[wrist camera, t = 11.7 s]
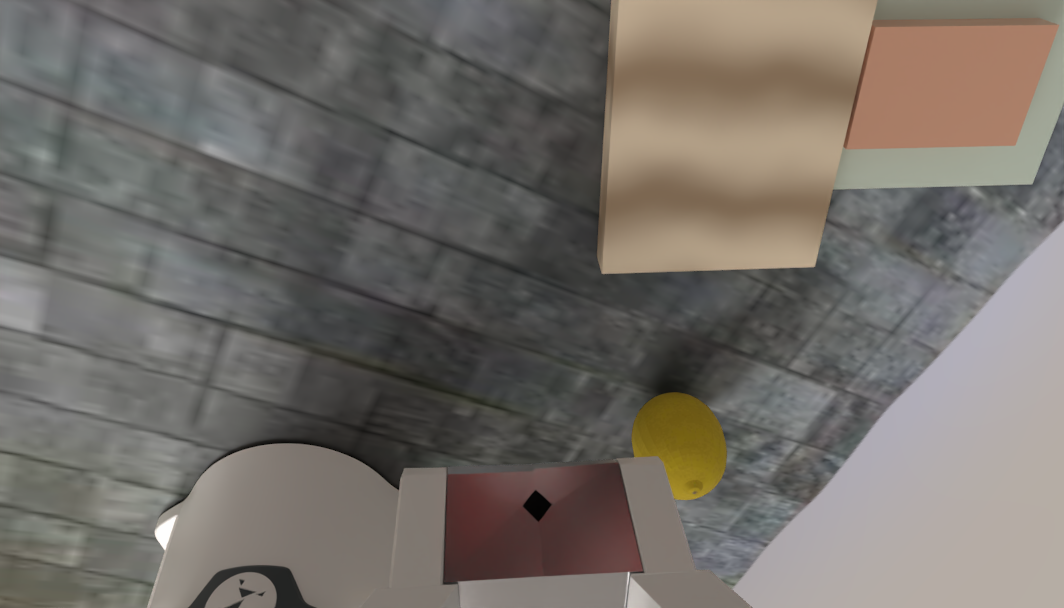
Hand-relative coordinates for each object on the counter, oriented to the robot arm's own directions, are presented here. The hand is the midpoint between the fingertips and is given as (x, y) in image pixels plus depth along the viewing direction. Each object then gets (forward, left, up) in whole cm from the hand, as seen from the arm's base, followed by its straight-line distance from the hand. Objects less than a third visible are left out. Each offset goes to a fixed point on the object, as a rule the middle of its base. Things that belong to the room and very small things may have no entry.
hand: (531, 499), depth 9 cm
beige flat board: (-4, -12, -31) cm, 34 cm away
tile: (-4, -23, -31) cm, 38 cm away
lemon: (-25, -11, -31) cm, 42 cm away
